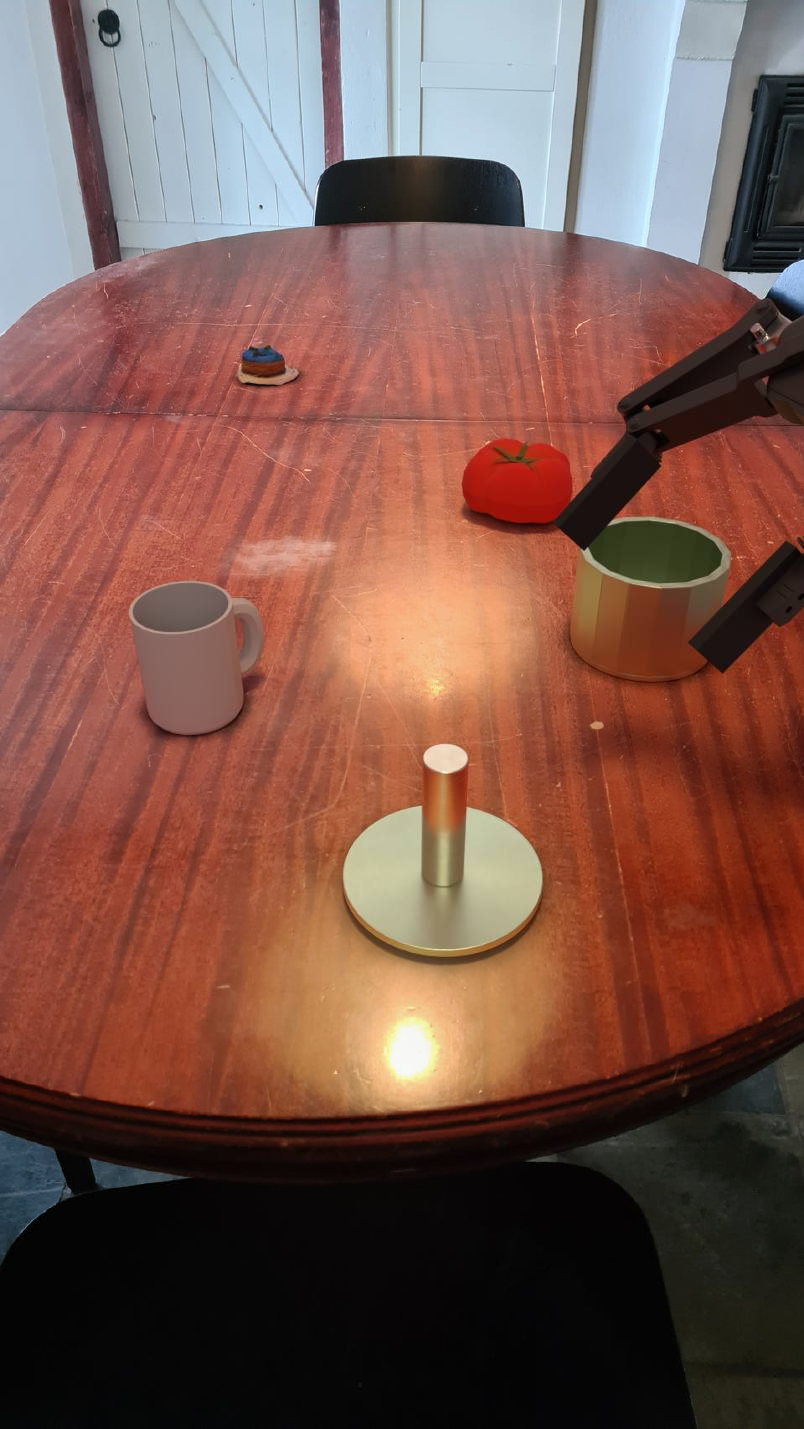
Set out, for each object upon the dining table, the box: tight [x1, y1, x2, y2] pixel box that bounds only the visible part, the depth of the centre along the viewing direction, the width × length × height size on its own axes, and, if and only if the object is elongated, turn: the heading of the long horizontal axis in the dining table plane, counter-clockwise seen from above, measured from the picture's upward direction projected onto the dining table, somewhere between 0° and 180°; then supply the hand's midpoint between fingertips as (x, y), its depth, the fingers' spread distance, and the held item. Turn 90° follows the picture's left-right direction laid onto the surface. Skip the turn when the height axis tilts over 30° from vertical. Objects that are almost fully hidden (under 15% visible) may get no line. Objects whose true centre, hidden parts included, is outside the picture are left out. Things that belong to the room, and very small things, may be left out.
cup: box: [128, 580, 265, 736], centre depth 76 cm, size 7×10×9 cm
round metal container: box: [569, 516, 733, 683], centre depth 82 cm, size 11×11×8 cm
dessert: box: [237, 344, 300, 386], centre depth 135 cm, size 8×7×6 cm
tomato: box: [461, 437, 574, 525], centre depth 102 cm, size 10×11×6 cm
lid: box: [341, 743, 544, 958], centre depth 60 cm, size 12×12×10 cm
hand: (630, 593), depth 56 cm, fingers open, 13 cm apart
